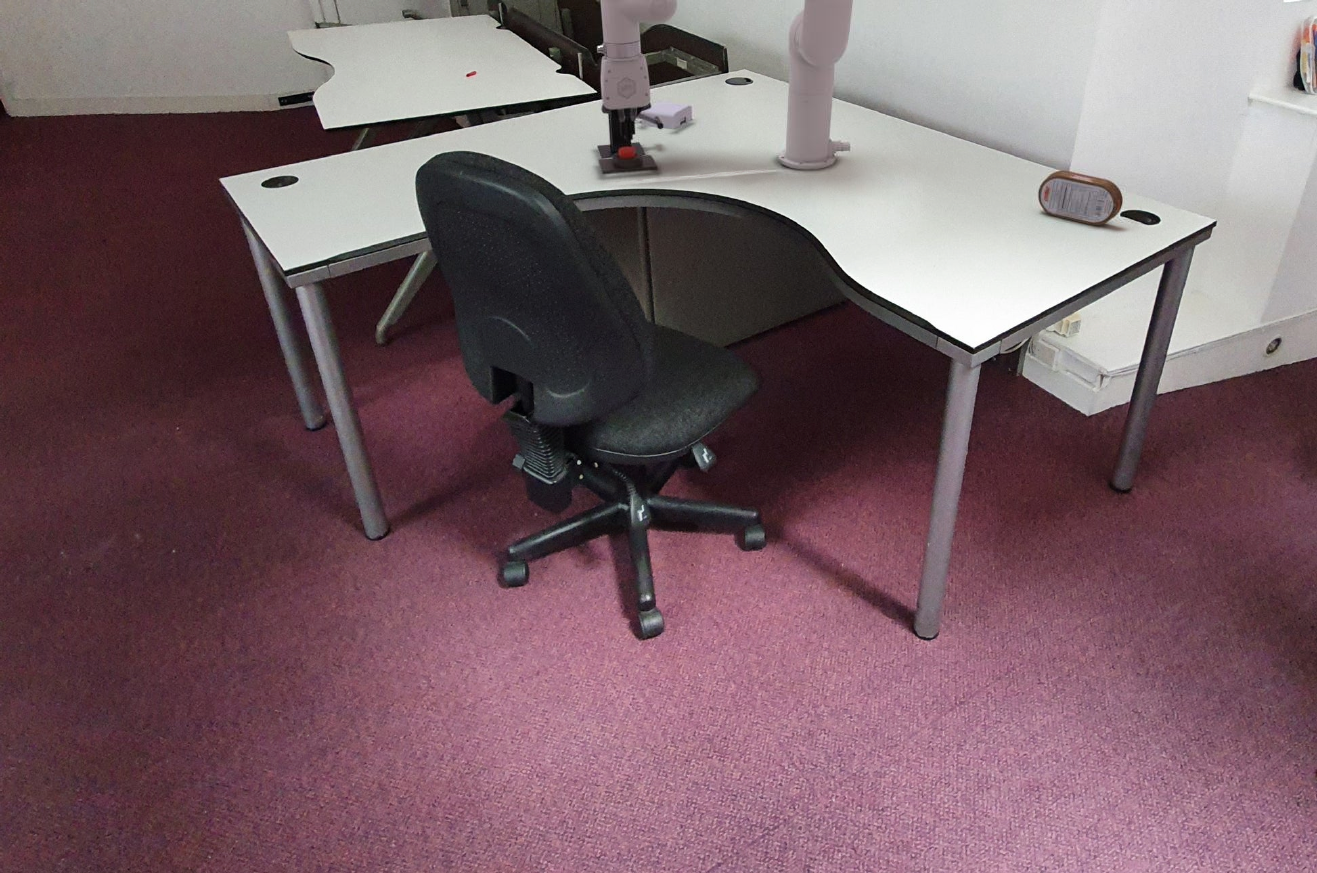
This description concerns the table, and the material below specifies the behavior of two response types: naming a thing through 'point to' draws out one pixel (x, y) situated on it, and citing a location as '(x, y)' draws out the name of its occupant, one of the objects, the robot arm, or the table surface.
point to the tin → (1080, 197)
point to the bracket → (617, 138)
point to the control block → (627, 164)
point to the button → (627, 152)
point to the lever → (652, 120)
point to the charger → (668, 114)
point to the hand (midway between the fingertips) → (628, 138)
